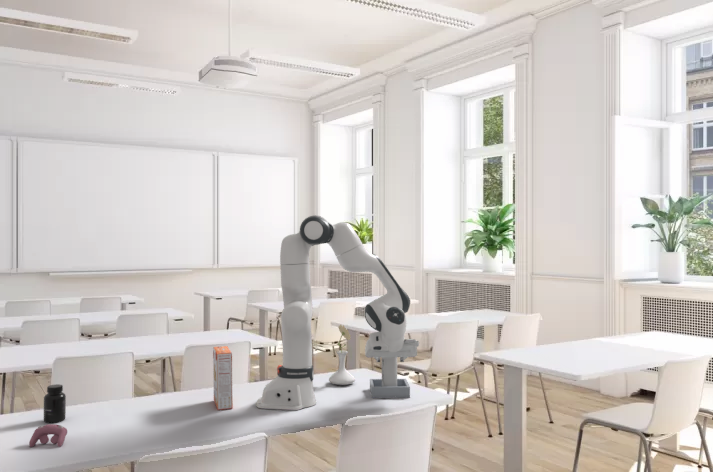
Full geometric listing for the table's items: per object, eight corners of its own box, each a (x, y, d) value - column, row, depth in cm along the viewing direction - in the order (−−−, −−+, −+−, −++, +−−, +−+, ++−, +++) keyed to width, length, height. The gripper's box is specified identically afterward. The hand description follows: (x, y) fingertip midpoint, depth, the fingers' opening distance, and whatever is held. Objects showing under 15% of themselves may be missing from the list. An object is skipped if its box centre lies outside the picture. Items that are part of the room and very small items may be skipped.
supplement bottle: (41, 424, 209) (41, 388, 209) (45, 418, 215) (45, 384, 215) (63, 422, 211) (63, 387, 211) (67, 417, 217) (67, 382, 217)
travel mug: (397, 389, 252) (397, 340, 252) (396, 394, 246) (396, 343, 246) (382, 389, 253) (382, 340, 253) (381, 393, 246) (381, 343, 246)
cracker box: (212, 400, 238) (212, 346, 238) (228, 399, 240) (228, 345, 240) (216, 410, 225) (216, 353, 225) (232, 409, 227) (232, 352, 227)
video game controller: (66, 448, 190) (70, 425, 193) (60, 446, 186) (64, 422, 189) (33, 449, 190) (38, 425, 193) (26, 446, 186) (31, 422, 189)
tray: (371, 397, 242) (371, 387, 242) (369, 388, 256) (369, 379, 256) (409, 397, 243) (409, 387, 243) (405, 388, 257) (405, 378, 257)
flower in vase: (357, 386, 260) (357, 327, 260) (330, 387, 259) (330, 327, 259) (353, 379, 273) (353, 322, 273) (327, 380, 272) (327, 323, 272)
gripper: (418, 333, 238) (415, 353, 248) (365, 333, 237) (364, 354, 247) (420, 346, 234) (416, 367, 244) (366, 347, 233) (364, 367, 243)
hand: (389, 360), depth 245 cm, fingers open, 8 cm apart
